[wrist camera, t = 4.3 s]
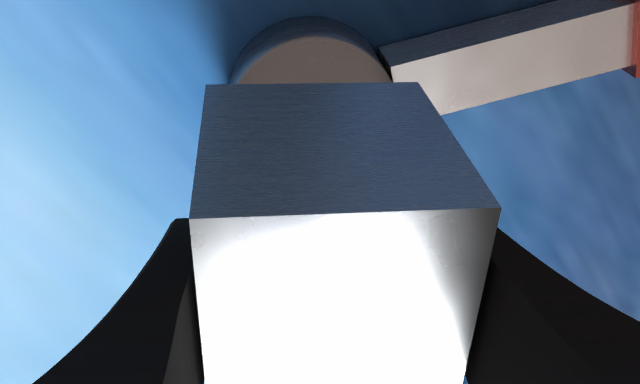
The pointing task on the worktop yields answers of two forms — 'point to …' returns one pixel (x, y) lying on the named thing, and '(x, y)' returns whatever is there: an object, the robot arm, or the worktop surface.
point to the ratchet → (456, 53)
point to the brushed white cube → (335, 236)
